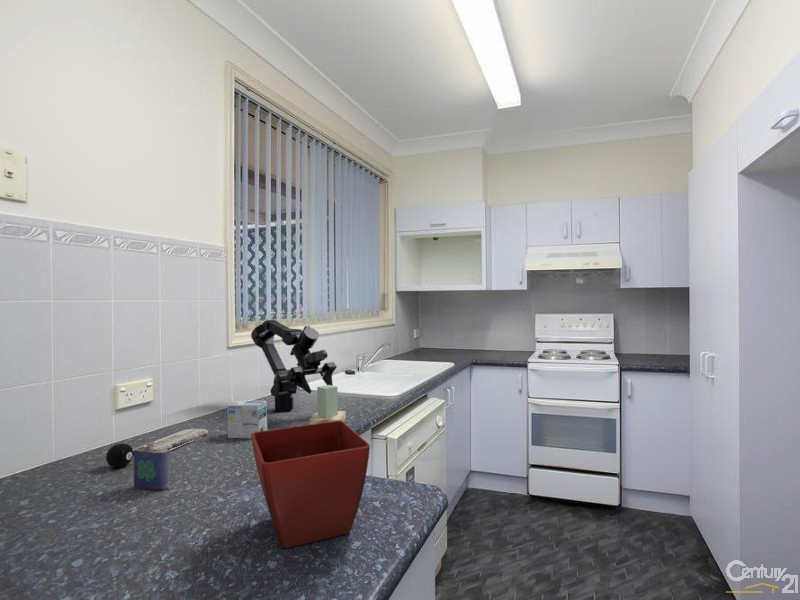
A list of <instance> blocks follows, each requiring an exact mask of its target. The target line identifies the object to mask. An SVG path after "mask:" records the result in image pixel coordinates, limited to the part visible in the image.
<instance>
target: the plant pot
mask: <svg viewBox="0 0 800 600" xmlns="http://www.w3.org/2000/svg"><path fill="white" fill-rule="evenodd" d="M251 437H252V438H251V445H252V450H253V456H254V460H255V467H256V469H257V475H258V478H259V483H260V487H261V489H262V493H263V497H264V499H265V503H266V505H267V509H268V512H269V515H270V520H271V522H272V527H273V529H274V533H275V536H276V538H277V542H278V544H279V547H280V548H282V549H290V548H293V547H294V548H295V547H298V546H301V545H307V544H310V543H314V542H317V541H322V540H326V539H327V540H328V539H330V538H335V537H338V536H342V535H347V534H349V533H350V532H351V531H352V528H353V525H354V522H355V519H356V516H357V513H358V510H359V507H360V503H361V500H362V495H363V491H364V487H365V483H366V477H367V470H368V466H369V465H368V464H369V457H370V448H371V445H370V443H368V442H367V441H366V440H365V439H364V438H363V437H361V436H360V435H359V434H358V433H357V432H355V431H354V430H353V429H352V428H351V426H349V425H348V424H347V423H346V422H343V421H333V422H326V423H318V424H311V425H309V424H306V425H303V424H302V425H298V426H297V425H296V426H290V427H283V428H275V429H267V431H259V432H254V433H252V434H251Z"/></svg>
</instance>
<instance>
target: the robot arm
mask: <svg viewBox="0 0 800 600" xmlns="http://www.w3.org/2000/svg"><path fill="white" fill-rule="evenodd" d="M275 336H278V337H279V338H281V341H282V342H283V344H285V345H286V346H293V347H291V350H290V353H289V354H290V356H294V357H295V359H296V361H297V363H296V366H295V367H294V366H293V367H290V369H287V368H286V367H285V364H284V362H283V361H282V358H281V356H280V354H279V352H278V350H277V348H276V347H275V344H274V339H275ZM250 337H251V339H252V341H253V342H254V344H255V345H256V346H257V347H259V348H260V349H261V350H262V352H263V354H264V356H265V358H266V360H267V363H268V364H269V366H270V368H271V371H272V372H273V375H274V377H273V380H272V381H273V384H272V387H271V389H270V390H269V392H270V395H271V396H273V397H274V410H273V412H274V413H277V412H278V413H281V412H282V413H284V412H285V413H286V412H291V411H292V410H294V408H295V400H294V399H295V397H293V395H294V394H295V395H296V393H297V389H298V387H299V388H300V389H302V390H303V391H305V392H306V393H308V395H310V394H312V389H311V387H310V385H309V382H308V381H307V379H306V376H311V375H318V374H319V375H320V376H321V377H322V381H324V383H325V385H332V386H334V385H333V374H334V372H335V370H336V369H337V365H336V363H335V362H334V361H333V362H332V361H331V362H324V363H323V365H322V367H319V366H321V364H322V363H321V362H322V361H325V360H326V359H327V358H328V357H329V356H328V353H327V350H326V349H321V350H319V351H318V350H317V351H312V352H311V351H310V349H312V348H314V345H315V343H316V342H317V340H318V339H319V337H320V334H319V332H318V331H317V330H316V329H315V328H312V327H311V326H310V325H304V327H303V329H299V328H290V327H288V326H286V325H284V324H282V323H281V322H278V321H277V320H275V319H267V320H264V321H263V322H262V323H260V324H259V325H257V326H256V327H254V329H252V331H251V336H250Z"/></svg>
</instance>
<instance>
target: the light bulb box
mask: <svg viewBox="0 0 800 600" xmlns="http://www.w3.org/2000/svg"><path fill="white" fill-rule="evenodd" d="M267 405H268V404H267V400H235V401H233V402H231V403H229V404H227V407H226V408H227V438H228V439H252V437H251V434H252V433H254V432H259V431H267V430H268V414H267V411H268V409H267V408H268V407H267Z"/></svg>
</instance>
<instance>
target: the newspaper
mask: <svg viewBox="0 0 800 600" xmlns="http://www.w3.org/2000/svg"><path fill="white" fill-rule="evenodd" d="M208 434H209V431H208V429H205V428H204V429H203V428H202V429H201V428H192V429H191V428H190V429H183V430H181V431H178V432H175V433H172V434H170V435H168V436H164V437H161V438H160V439H157V440H154V441H151V442H150V443H152V442H155V444H154V445H153V446H154V447H153V449H167V450H168V449H169V448H170V449H169V450H168V452H170V451H172V450H174V449H177V448H179V447H181V446H184V445H186V444H188V443H191V442H194V440H195V439H194V438H197V437H200V436H204V435H208ZM192 439H194V440H192ZM189 440H192V441H189ZM187 441H189V442H187ZM195 441H196V440H195ZM185 442H186V443H185ZM183 443H184V444H183ZM180 444H182V445H180ZM178 445H179V446H178ZM142 446H144V447H147V445H145V444H143V445H141V446H138V447H136V448H139V447H142ZM174 446H177V447H174ZM173 447H174V448H173ZM136 448H132V449H133V453H134V450H135V449H136Z"/></svg>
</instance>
